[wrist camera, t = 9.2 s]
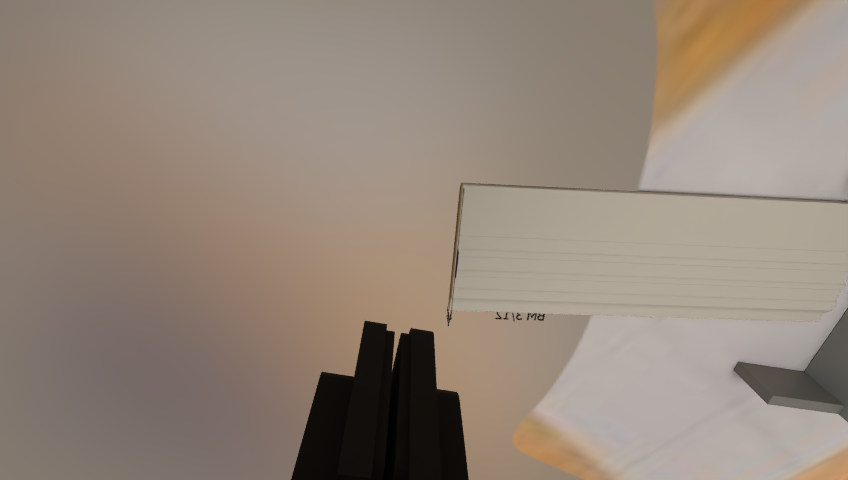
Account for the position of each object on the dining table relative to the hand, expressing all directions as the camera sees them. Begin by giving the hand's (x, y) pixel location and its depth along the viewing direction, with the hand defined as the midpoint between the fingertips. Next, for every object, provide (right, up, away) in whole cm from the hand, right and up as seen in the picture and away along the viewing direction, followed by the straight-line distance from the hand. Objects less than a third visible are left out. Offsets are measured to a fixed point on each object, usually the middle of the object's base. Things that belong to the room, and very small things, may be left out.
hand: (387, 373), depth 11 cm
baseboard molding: (+19, +2, +24) cm, 31 cm away
